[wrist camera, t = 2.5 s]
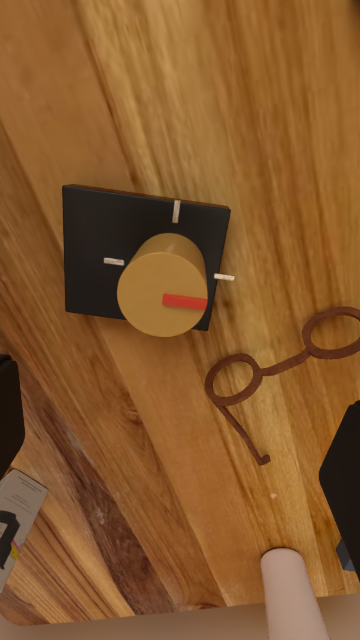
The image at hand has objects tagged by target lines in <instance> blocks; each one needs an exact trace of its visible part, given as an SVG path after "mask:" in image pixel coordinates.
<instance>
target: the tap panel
mask: <svg viewBox="0 0 360 640" xmlns="http://www.w3.org/2000/svg"><path fill="white" fill-rule="evenodd" d="M62 197H63V235H64V273H65V311H66V312H72V313H79V314H86V315H93V316H101V317H108V318H115V319H123V320H127V319H126V318H125V316H124V315H123V313H122V311H121V309H120V307H119V303H118V298H117V288H118V283H119V279H120V277H121V275H122V273H123V271H124V270H125V268H126V267H127V266H128V264H129V263H130V261H131V260H132V258H133V257H134V256H135V254H136V253H137V251H138V250H139V248H140V247H141V246H142V245H143V243H145V242H146V241H147V240H148V239H150V238H152V237H153V236H156V235H159V234H164V233H174V234H178V235H181V236H184V237H186V238H188V239H189V240H191V241H192V242H193V243H194V244H195V245H196V246H197V247H198V249H199V250H200V252H201V254H202V256H203V259H204V263H205V272H206V281H207V291H208V300H207V306H206V310H205V312H204V314H203V316H202V318H201V319H200V320H199V322H198V323H197V324H196V325H195V326H194V327H192V328H191V329H196V330H203V331H208V327H209V322H210V317H211V312H212V306H213V301H214V296H215V291H216V285H217V280H218V279H223V280H230V281H234V277H235V276H233V275H226V274H219V270H220V264H221V259H222V254H223V249H224V244H225V238H226V233H227V228H228V223H229V217H230V212H231V210H230V209H229V207H227V206H222V205H215V204H208V203H201V202H194V201H187V200H180V199H173V198H167V197H160V196H153V195H146V194H139V193H132V192H125V191H118V190H111V189H104V188H97V187H90V186H83V185H76V184H70V185H63V186H62Z"/></svg>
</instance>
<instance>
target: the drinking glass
mask: <svg viewBox="0 0 360 640" xmlns="http://www.w3.org/2000/svg"><path fill="white" fill-rule="evenodd" d="M260 566H261V573H262V579H263V587H264V597H265V608H266V618H267V629H268V640H331V639H330V636H329V634H328V630H327V628H326V625H325V622H324V619H323V616H322V614H321V611H320V608H319V605H318V602H317V600H316V596H315V594H314V591H313V588H312V585H311V582H310V579H309V576H308V573H307V569H306V565H305V562H304V560H303V558H302V556H301V555H300V554H299V553H298V552H296V551H294V550H292V549H287V548H277V549H273V550H270V551H268V552H267V553H265V554H264V555H263V557H262V558H261V562H260Z"/></svg>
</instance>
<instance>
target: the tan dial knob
mask: <svg viewBox="0 0 360 640" xmlns="http://www.w3.org/2000/svg"><path fill="white" fill-rule="evenodd" d="M117 298H118V303H119V307H120V309H121V311H122V313H123V315H124V316H125V318H126V319H127V320H128V322H129V323H130V324H131V325H132V326H134V327H135V328H136V329H138V330H140V331H141V332H143V333H146V334H148V335H151V336H156V337H172V336H177V335H180V334H182V333H185V332H186V331H188V330H190V329H191V328H192V327H194V326H195V325H196V324H197V323H198V322H199V320H200V319H201V318H202V316H203V314H204V312H205V310H206V306H207V300H208V291H207V281H206V272H205V263H204V259H203V256H202V254H201V252H200V250H199V249H198V247H197V246H196V245H195V244H194V243H193V242H192V241H191V240H189V239H188V238H186V237H184V236H181V235H178V234H174V233H164V234H159V235H156V236H153V237H152V238H150V239H148V240H147V241H146V242H145V243H143V245H142V246H141V247H140V248H139V250H138V251H137V253H136V254H135V256H134V257H133V258H132V260H131V261H130V263H129V264H128V266H127V267H126V268H125V270H124V271H123V273H122V275H121V277H120V279H119V283H118V288H117Z"/></svg>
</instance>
